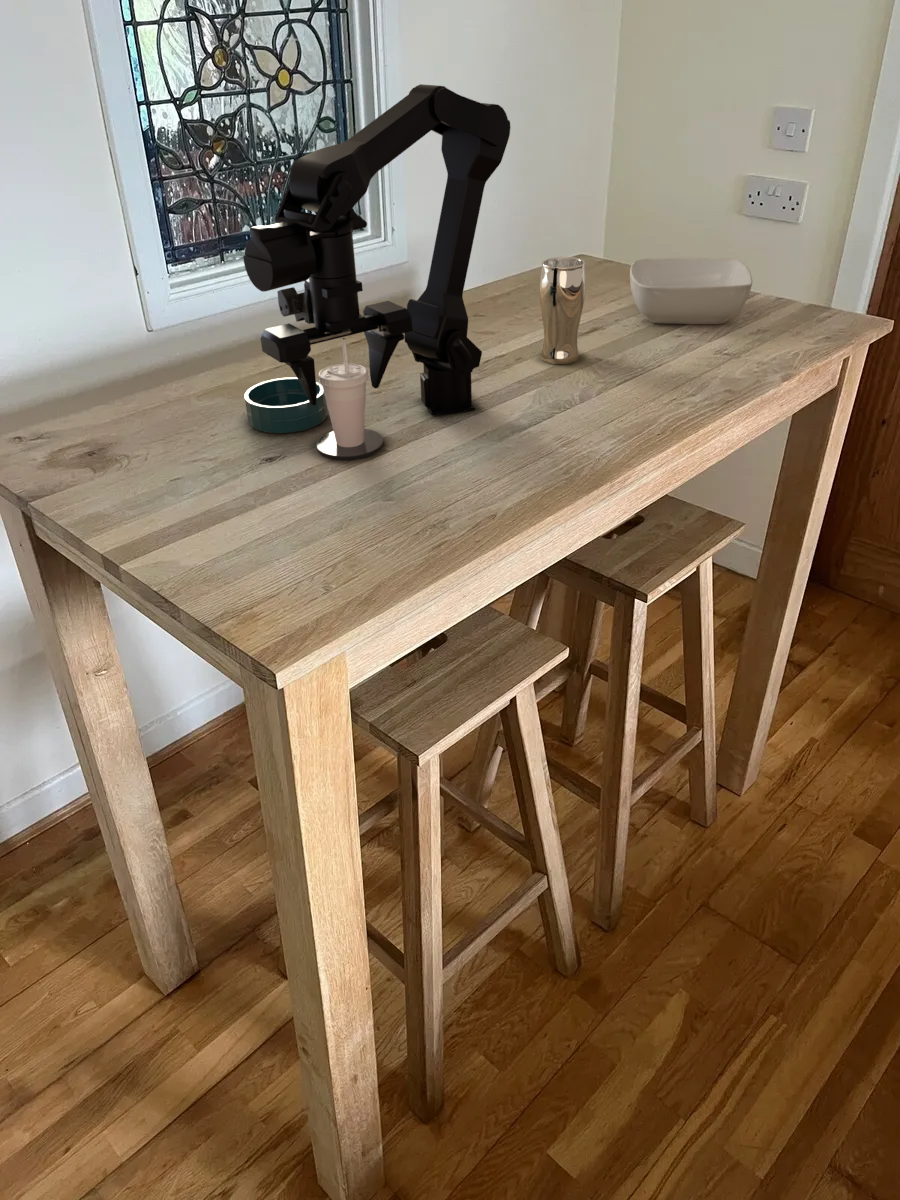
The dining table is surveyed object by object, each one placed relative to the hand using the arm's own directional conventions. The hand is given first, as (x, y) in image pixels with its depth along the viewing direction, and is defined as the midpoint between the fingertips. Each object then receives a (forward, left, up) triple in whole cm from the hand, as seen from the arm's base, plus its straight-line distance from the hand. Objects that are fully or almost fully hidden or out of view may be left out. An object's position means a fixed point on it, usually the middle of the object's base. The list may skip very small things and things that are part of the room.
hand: (344, 395), depth 119 cm
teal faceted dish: (+7, -12, -7) cm, 16 cm away
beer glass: (-38, -22, -7) cm, 45 cm away
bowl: (-67, -36, -7) cm, 76 cm away
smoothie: (0, 0, -7) cm, 7 cm away
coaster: (0, 0, -7) cm, 7 cm away
